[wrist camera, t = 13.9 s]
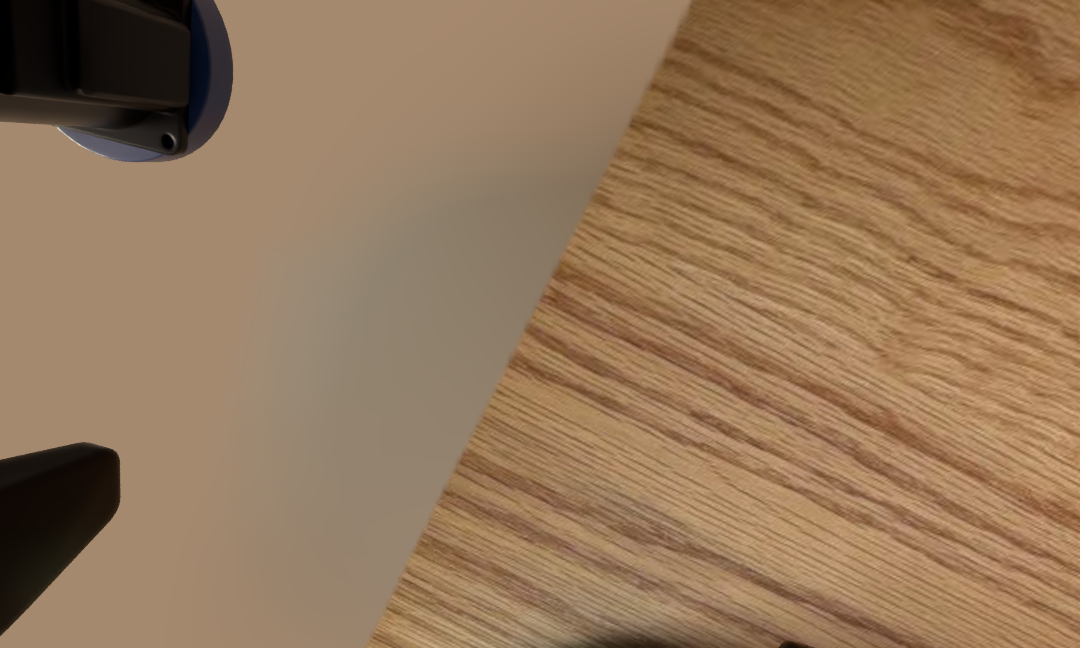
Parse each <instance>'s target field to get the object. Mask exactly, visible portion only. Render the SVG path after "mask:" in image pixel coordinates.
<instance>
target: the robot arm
mask: <svg viewBox="0 0 1080 648" xmlns="http://www.w3.org/2000/svg"><path fill="white" fill-rule="evenodd" d="M191 11H192V0H0V121H2V122H16V123H33V124H48V125H53V126H56V127H60V128H64V129H68V130H72V131H76V132H80V133H83V134H87V135H91V136H95V137H99V138H103V139H107V140H110V141H114V142H118V143H122V144H126V145H130V146H133V147H137V148H141V149H145V150H149V151H153V152H157V153H160V154H164V155H171V156H180V155H183V154H184V153H185V152H186V151H187V148H188V127H189V89H190V51H191ZM170 137H172V139H173V141H174V146H173V147H172V146H171V145H170V141H169V140H170ZM119 503H120V459H119V456H118V454H117V453H116V452H115V451H114V450H113V449H110V448H106V447H103V446H99V445H96V444H92V443H86V442H81V443H75V444H71V445H67V446H62V447H57V448H53V449H48V450H43V451H39V452H34V453H29V454H25V455H21V456H16V457H11V458H7V459H2V460H0V636H1V635H2V634H3V633H4V632H5V631H6V630H7V629H8V628H9V627H10V626H11V625H12V624H13V623H14V622H15V621H16V620H17V619H18V618H19V617H20V616H21V615H22V614H23V613H24V612H25V610H27V609H28V608H29V607H30V606H31V605H32V604H33V602H34V601H35V600H36V599H37V598H38V597H39V596H40V595H41V594H42V593H43V592H44V591H45V589H47V587H48V586H49V585H50V584H51V583H52V582H53V581H54V580H55V579H56V578H57V577H58V576H59V575H60V574H61V573H62V571H63V570H64V569H65V568H66V567H67V566H68V565H69V564H70V563H71V562H72V561H73V560H74V559H75V558H76V557H77V556H78V554H79V553H80V552H81V551H82V550H83V549H84V548H85V547H86V546H87V545H88V544H89V542H91V540H93V538H94V537H95V536H96V535H97V534H98V533H99V532H100V531H101V530H102V529H103V528H104V527H105V526H106V524H107V523H108V522H109V521H110V520H111V519H112V518H113V516H114V514H115V513H116V511H117V509H118V507H119ZM779 648H814V647H810V646H807V645H803V644H800V643H796V642H793V641H785V642H783V643H782V644H780V646H779Z"/></svg>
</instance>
